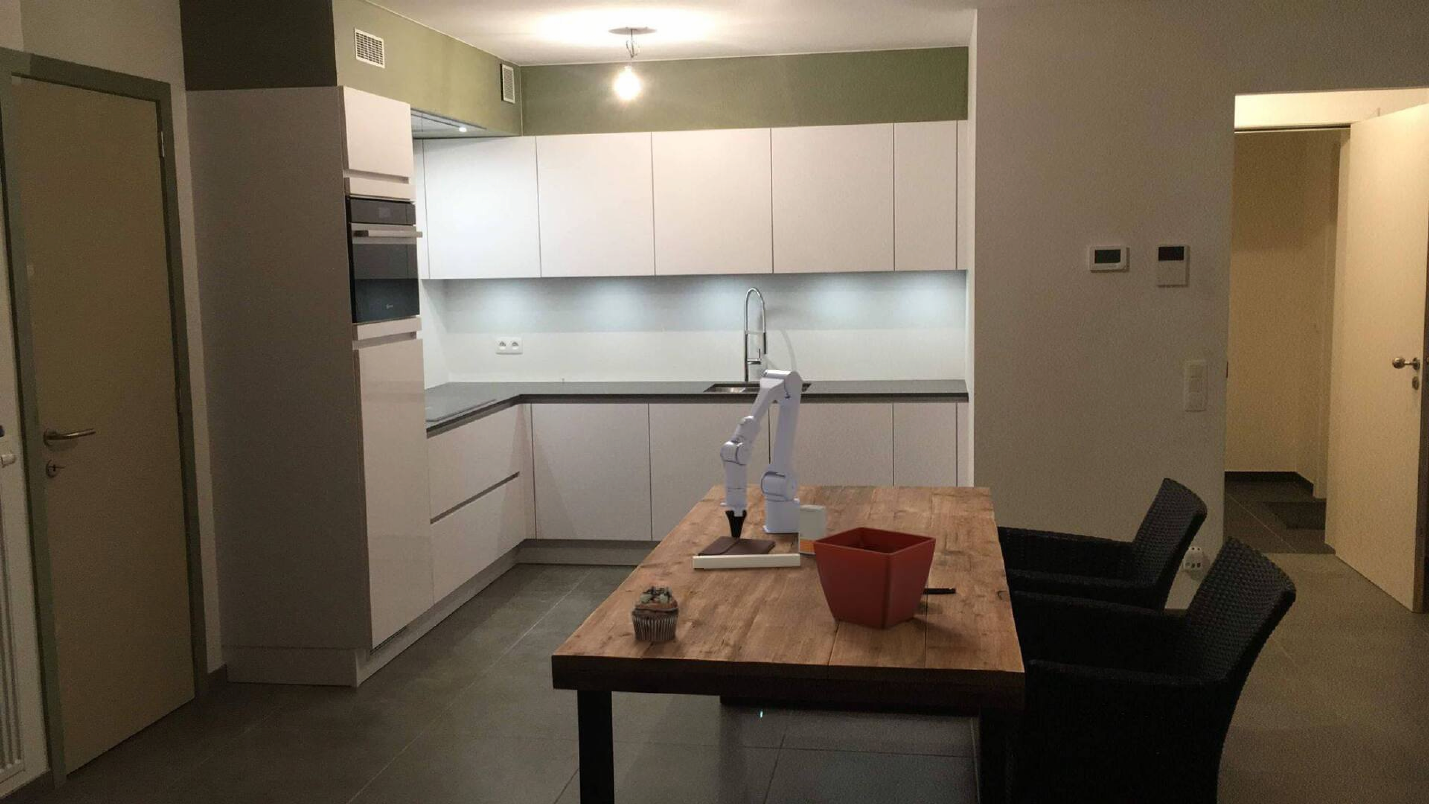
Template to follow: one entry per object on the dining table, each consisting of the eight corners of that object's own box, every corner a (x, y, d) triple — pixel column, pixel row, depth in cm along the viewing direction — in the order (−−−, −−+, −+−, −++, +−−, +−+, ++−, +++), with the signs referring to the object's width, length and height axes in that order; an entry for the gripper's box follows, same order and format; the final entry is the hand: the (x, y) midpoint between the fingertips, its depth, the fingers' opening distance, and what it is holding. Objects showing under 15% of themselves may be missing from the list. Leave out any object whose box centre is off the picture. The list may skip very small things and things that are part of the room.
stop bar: (798, 564, 306) (798, 553, 305) (800, 566, 304) (800, 555, 303) (693, 566, 303) (692, 556, 303) (693, 568, 301) (693, 558, 301)
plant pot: (860, 600, 274) (860, 524, 272) (937, 615, 262) (938, 537, 260) (810, 620, 259) (810, 540, 257) (889, 637, 247) (890, 554, 245)
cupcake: (678, 628, 254) (678, 580, 253) (679, 643, 245) (678, 593, 243) (631, 629, 254) (631, 581, 253) (630, 644, 244) (629, 594, 243)
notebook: (775, 546, 325) (775, 539, 325) (755, 564, 307) (755, 556, 306) (720, 542, 330) (720, 535, 330) (697, 560, 311) (697, 552, 311)
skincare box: (797, 553, 316) (797, 506, 315) (804, 549, 320) (804, 503, 319) (819, 555, 314) (820, 509, 312) (826, 552, 317) (826, 506, 316)
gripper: (718, 482, 335) (718, 531, 336) (723, 492, 320) (723, 544, 322) (744, 481, 335) (744, 531, 337) (750, 492, 321) (750, 543, 322)
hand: (736, 537), depth 329 cm, fingers closed
